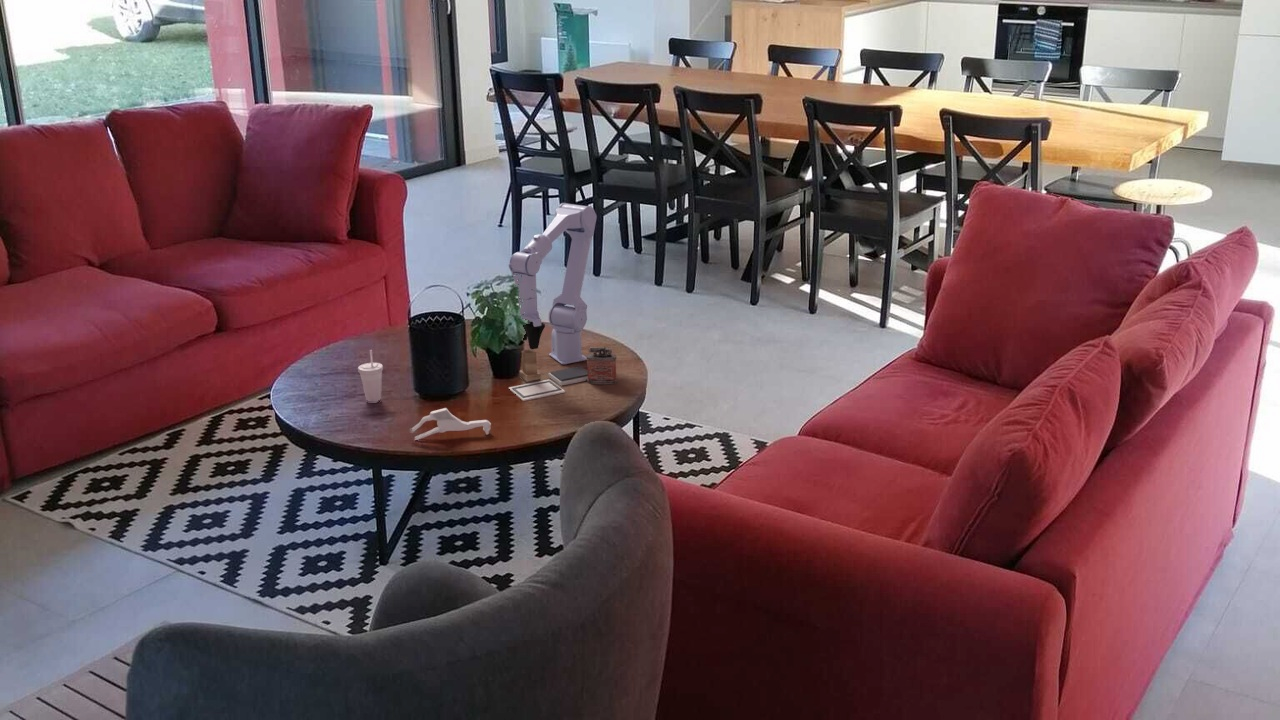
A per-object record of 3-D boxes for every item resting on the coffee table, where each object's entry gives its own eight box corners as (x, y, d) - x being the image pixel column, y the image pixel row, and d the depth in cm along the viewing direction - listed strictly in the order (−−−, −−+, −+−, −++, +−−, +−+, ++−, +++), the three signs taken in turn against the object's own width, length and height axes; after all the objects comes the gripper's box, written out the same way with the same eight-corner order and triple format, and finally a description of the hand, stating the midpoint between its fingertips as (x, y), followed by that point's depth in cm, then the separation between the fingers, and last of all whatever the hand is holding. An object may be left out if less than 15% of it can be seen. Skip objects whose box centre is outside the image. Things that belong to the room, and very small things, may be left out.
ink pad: (548, 376, 338) (548, 371, 338) (581, 370, 343) (581, 365, 342) (560, 385, 332) (560, 380, 331) (593, 379, 336) (593, 373, 335)
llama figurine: (427, 463, 301) (494, 431, 302) (406, 426, 297) (473, 393, 297) (427, 460, 303) (493, 428, 303) (406, 423, 299) (473, 390, 299)
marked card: (508, 388, 330) (508, 386, 330) (549, 380, 335) (549, 378, 335) (523, 401, 322) (523, 398, 322) (565, 392, 327) (565, 390, 327)
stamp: (519, 377, 338) (518, 350, 335) (533, 374, 340) (531, 347, 337) (527, 383, 334) (525, 355, 331) (540, 380, 336) (539, 352, 333)
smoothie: (391, 400, 324) (386, 350, 319) (370, 407, 319) (365, 356, 314) (376, 394, 328) (371, 345, 323) (356, 401, 323) (351, 351, 318)
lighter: (617, 379, 335) (616, 345, 332) (616, 384, 332) (615, 349, 329) (588, 379, 336) (587, 344, 332) (586, 383, 333) (585, 348, 329)
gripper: (501, 291, 333) (504, 339, 338) (522, 305, 321) (525, 354, 326) (525, 287, 336) (528, 335, 341) (547, 301, 324) (549, 350, 329)
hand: (528, 344), depth 333 cm, fingers open, 7 cm apart
